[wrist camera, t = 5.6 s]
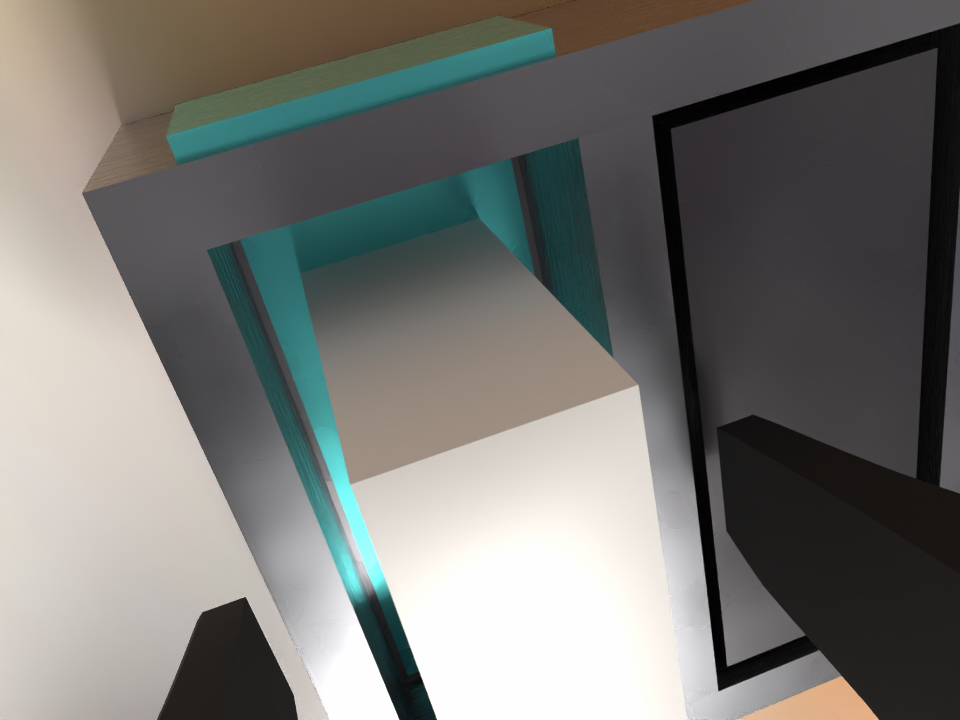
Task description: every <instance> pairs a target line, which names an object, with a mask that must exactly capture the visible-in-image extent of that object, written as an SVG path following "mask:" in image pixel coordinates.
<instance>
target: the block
mask: <svg viewBox="0 0 960 720" xmlns="http://www.w3.org/2000/svg"><path fill="white" fill-rule="evenodd" d="M300 275H301V279H302V284H303V288H304V292H305V296H306V300H307V305H308V309H309V313H310V317H311V322H312V326H313V330H314V334H315V338H316V343H317V347H318V351H319V355H320V359H321V364H322V368H323V372H324V376H325V380H326V385H327V389H328V393H329V397H330V402H331V406H332V410H333V414H334V418H335V423H336V427H337V431H338V435H339V439H340V444H341V448H342V452H343V456H344V460H345V465H346V469H347V473H348V477H349V482H350V485H351V488H352V491H353V493H354V496H355V499H356V502H357V504H358V507H359V510H360V512H361V515H362V518H363V520H364V523H365V526H366V529H367V531H368V534H369V537H370V539H371V542H372V545H373V547H374V550H375V553H376V556H377V558H378V561H379V564H380V566H381V569H382V572H383V574H384V577H385V580H386V583H387V585H388V588H389V591H390V593H391V596H392V599H393V601H394V604H395V607H396V609H397V612H398V615H399V618H400V620H401V623H402V626H403V628H404V631H405V634H406V636H407V639H408V642H409V645H410V647H411V650H412V653H413V655H414V658H415V661H416V663H417V666H418V669H419V672H420V674H421V677H422V680H423V682H424V685H425V688H426V690H427V693H428V696H429V699H430V701H431V704H432V707H433V709H434V712H435V715H436V717H437V720H687V717H686V710H685V703H684V696H683V689H682V682H681V675H680V668H679V661H678V655H677V648H676V641H675V634H674V627H673V620H672V613H671V606H670V599H669V592H668V585H667V578H666V572H665V565H664V558H663V551H662V544H661V537H660V530H659V523H658V516H657V509H656V502H655V495H654V489H653V482H652V475H651V468H650V461H649V454H648V447H647V440H646V433H645V426H644V419H643V412H642V405H641V399H640V392H639V385H638V384H637V383H636V382H635V381H634V380H633V379H632V377H631V376H630V375H629V374H628V373H627V372H626V371H625V370H624V369H623V368H622V367H621V366H620V365H619V364H618V363H617V362H616V361H615V360H614V359H613V358H612V357H611V356H610V354H609V353H608V352H607V351H606V350H605V349H604V348H603V347H602V346H601V345H600V344H599V343H598V342H597V341H596V340H595V339H594V338H593V337H592V336H591V335H590V334H589V333H588V331H587V330H586V329H585V328H584V327H583V326H582V325H581V324H580V323H579V322H578V321H577V320H576V319H575V318H574V317H573V316H572V315H571V314H570V313H569V312H568V311H567V310H566V308H565V307H564V306H563V305H562V304H561V303H560V302H559V301H558V300H557V299H556V298H555V297H554V296H553V295H552V294H551V293H550V292H549V291H548V290H547V289H546V288H545V287H544V285H543V284H542V283H541V282H540V281H539V280H538V279H537V278H536V277H535V276H534V275H533V274H532V273H531V272H530V271H529V270H528V269H527V268H526V267H525V266H524V265H523V264H522V262H521V261H520V260H519V259H518V258H517V257H516V256H515V255H514V254H513V253H512V252H511V251H510V250H509V249H508V248H507V247H506V246H505V245H504V244H503V243H502V242H501V241H500V239H499V238H498V237H497V236H496V235H495V234H494V233H493V232H492V231H491V230H490V229H489V228H488V227H487V226H486V225H485V224H484V223H483V222H482V221H481V220H480V219H479V218H478V219H475V220H472V221H469V222H465V223H462V224H459V225H456V226H452V227H449V228H446V229H443V230H439V231H436V232H433V233H430V234H426V235H423V236H420V237H417V238H413V239H410V240H407V241H404V242H400V243H397V244H394V245H391V246H387V247H384V248H381V249H378V250H374V251H371V252H368V253H365V254H361V255H358V256H355V257H352V258H348V259H345V260H342V261H339V262H335V263H332V264H329V265H326V266H322V267H319V268H316V269H313V270H309V271H306V272H303V273H300Z"/></svg>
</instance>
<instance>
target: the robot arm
mask: <svg viewBox="0 0 960 720" xmlns="http://www.w3.org/2000/svg"><path fill="white" fill-rule="evenodd" d="M717 438H718V449H719V459H720V470H721V480H722V491H723V501H724V512H725V522H726V531H727V533H728V534H729V536H730V537H731V539H732V540H733V542H734V543H735V545H736V546H737V548H738V550H739V551H740V553H741V554H742V556H743V557H744V559H745V560H746V562H747V563H748V565H749V566H750V568H751V569H752V570H753V572H754V573H755V575H756V576H757V578H758V579H759V581H760V582H761V583H762V585H763V586H764V587H765V589H766V590H767V591H768V592H769V593H770V594H771V596H772V597H773V598H774V599H775V600H776V601H777V603H778V604H779V605H780V606H781V607H782V608H783V610H784V611H785V612H786V613H787V614H788V615H789V616H790V618H791V619H792V620H793V621H794V622H795V623H796V624H797V626H798V627H799V628H800V629H801V630H802V631H803V632H804V634H805V635H806V636H807V637H808V638H809V639H810V640H811V642H812V643H813V644H814V645H815V646H816V647H817V648H818V649H819V651H820V652H821V653H822V654H823V655H824V656H825V657H826V658H827V660H828V661H829V662H830V663H831V664H832V665H833V666H834V668H835V669H836V670H837V671H838V672H839V673H840V674H841V676H842V677H843V678H844V679H845V680H846V681H847V682H848V683H849V685H850V686H851V687H852V688H853V689H854V690H855V691H856V693H857V694H858V695H859V696H860V697H861V698H862V699H863V700H864V702H865V703H866V704H867V705H868V706H869V708H870V709H871V710H872V711H873V713H874V714H875V715H876V716H877V718H878V719H879V720H960V493H957V492H954V491H951V490H948V489H945V488H942V487H939V486H936V485H933V484H930V483H927V482H924V481H921V480H918V479H916V478H913V477H910V476H907V475H905V474H902V473H899V472H896V471H894V470H891V469H888V468H886V467H883V466H881V465H878V464H875V463H873V462H870V461H868V460H865V459H863V458H860V457H858V456H855V455H853V454H850V453H848V452H845V451H843V450H840V449H838V448H835V447H833V446H830V445H828V444H826V443H823V442H821V441H818V440H816V439H813V438H811V437H809V436H806V435H804V434H801V433H799V432H796V431H794V430H792V429H789V428H787V427H784V426H782V425H779V424H777V423H774V422H772V421H769V420H767V419H764V418H761V417H759V416H756V415H750V416H748V417H745V418H742V419H739V420H737V421H734V422H731V423H728V424H725V425H723V426H720V427H717ZM157 720H298V717H297V712H296V706H295V700H294V695H293V693H292V691H291V689H290V687H289V684H288V682H287V680H286V678H285V676H284V674H283V672H282V670H281V668H280V666H279V664H278V662H277V660H276V658H275V656H274V654H273V652H272V650H271V648H270V646H269V644H268V642H267V640H266V638H265V636H264V634H263V632H262V630H261V628H260V626H259V624H258V622H257V619H256V617H255V615H254V613H253V611H252V609H251V607H250V605H249V603H248V601H247V599H246V597H244V598H241V599H239V600H236V601H233V602H230V603H227V604H225V605H222V606H219V607H216V608H213V609H211V610H208V611H205V612H202V614H201V616H200V617H199V619H198V621H197V623H196V626H195V628H194V631H193V633H192V636H191V638H190V641H189V644H188V646H187V649H186V651H185V654H184V656H183V659H182V661H181V664H180V666H179V669H178V671H177V674H176V676H175V679H174V681H173V684H172V686H171V688H170V691H169V693H168V696H167V698H166V701H165V703H164V705H163V708H162V710H161V712H160V714H159V717H158V719H157Z"/></svg>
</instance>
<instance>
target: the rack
mask: <svg viewBox="0 0 960 720" xmlns="http://www.w3.org/2000/svg"><path fill="white" fill-rule="evenodd" d="M82 194H83V196H84V198H85V200H86V202H87V205H88V207H89V209H90V211H91V213H92V215H93V217H94V219H95V222H96V224H97V226H98V228H99V230H100V232H101V234H102V236H103V239H104V241H105V243H106V245H107V247H108V249H109V251H110V253H111V256H112V258H113V260H114V262H115V264H116V266H117V268H118V270H119V273H120V275H121V277H122V279H123V281H124V283H125V285H126V287H127V290H128V292H129V294H130V296H131V298H132V300H133V302H134V304H135V307H136V309H137V311H138V313H139V315H140V317H141V319H142V321H143V324H144V326H145V328H146V330H147V332H148V334H149V336H150V338H151V341H152V343H153V345H154V347H155V349H156V351H157V353H158V355H159V358H160V360H161V362H162V364H163V366H164V368H165V370H166V372H167V375H168V377H169V379H170V381H171V383H172V385H173V387H174V389H175V392H176V394H177V396H178V398H179V400H180V402H181V404H182V406H183V409H184V411H185V413H186V415H187V417H188V419H189V421H190V423H191V426H192V428H193V430H194V432H195V434H196V436H197V438H198V440H199V443H200V445H201V447H202V449H203V451H204V453H205V455H206V457H207V460H208V462H209V464H210V466H211V468H212V470H213V472H214V474H215V477H216V479H217V481H218V483H219V485H220V487H221V489H222V491H223V494H224V496H225V498H226V500H227V502H228V504H229V506H230V508H231V510H232V513H233V515H234V517H235V519H236V521H237V523H238V525H239V527H240V530H241V532H242V534H243V536H244V538H245V540H246V542H247V544H248V547H249V549H250V551H251V553H252V555H253V557H254V559H255V561H256V564H257V566H258V568H259V570H260V572H261V574H262V576H263V578H264V581H265V583H266V585H267V587H268V589H269V591H270V593H271V595H272V598H273V600H274V602H275V604H276V606H277V608H278V610H279V612H280V615H281V617H282V619H283V621H284V623H285V625H286V627H287V629H288V632H289V634H290V636H291V638H292V640H293V642H294V644H295V646H296V649H297V651H298V653H299V655H300V657H301V659H302V661H303V663H304V666H305V668H306V670H307V672H308V674H309V676H310V678H311V680H312V683H313V685H314V687H315V689H316V691H317V693H318V695H319V697H320V700H321V702H322V704H323V706H324V708H325V710H326V712H327V714H328V717H329V719H330V720H437V717H436V715H435V712H434V709H433V707H432V704H431V701H430V699H429V696H428V693H427V690H426V688H425V685H424V682H423V680H422V677H421V674H420V672H419V669H418V666H417V663H416V661H415V658H414V655H413V653H412V650H411V647H410V645H409V642H408V639H407V636H406V634H405V631H404V628H403V626H402V623H401V620H400V618H399V615H398V612H397V609H396V607H395V604H394V601H393V599H392V596H391V593H390V591H389V588H388V585H387V583H386V580H385V577H384V574H383V572H382V569H381V566H380V564H379V561H378V558H377V556H376V553H375V550H374V547H373V545H372V542H371V539H370V537H369V534H368V531H367V529H366V526H365V523H364V520H363V518H362V515H361V512H360V510H359V507H358V504H357V502H356V499H355V496H354V493H353V491H352V488H351V485H350V482H349V477H348V473H347V469H346V465H345V460H344V456H343V452H342V448H341V444H340V439H339V435H338V431H337V427H336V423H335V418H334V414H333V410H332V406H331V402H330V397H329V393H328V389H327V385H326V380H325V376H324V372H323V368H322V364H321V359H320V355H319V351H318V347H317V343H316V338H315V334H314V330H313V326H312V322H311V317H310V313H309V309H308V305H307V300H306V296H305V292H304V288H303V284H302V279H301V275H300V273H303V272H306V271H309V270H313V269H316V268H319V267H322V266H326V265H329V264H332V263H335V262H339V261H342V260H345V259H348V258H352V257H355V256H358V255H361V254H365V253H368V252H371V251H374V250H378V249H381V248H384V247H387V246H391V245H394V244H397V243H400V242H404V241H407V240H410V239H413V238H417V237H420V236H423V235H426V234H430V233H433V232H436V231H439V230H443V229H446V228H449V227H452V226H456V225H459V224H462V223H465V222H469V221H472V220H475V219H478V218H479V219H480V220H481V221H482V222H483V223H484V224H485V225H486V226H487V227H488V228H489V229H490V230H491V231H492V232H493V233H494V234H495V235H496V236H497V237H498V238H499V239H500V241H501V242H502V243H503V244H504V245H505V246H506V247H507V248H508V249H509V250H510V251H511V252H512V253H513V254H514V255H515V256H516V257H517V258H518V259H519V260H520V261H521V262H522V264H523V265H524V266H525V267H526V268H527V269H528V270H529V271H530V272H531V273H532V274H533V275H534V276H535V277H536V278H537V279H538V280H539V281H540V282H541V283H542V284H543V285H544V287H545V288H546V289H547V290H548V291H549V292H550V293H551V294H552V295H553V296H554V297H555V298H556V299H557V300H558V301H559V302H560V303H561V304H562V305H563V306H564V307H565V308H566V310H567V311H568V312H569V313H570V314H571V315H572V316H573V317H574V318H575V319H576V320H577V321H578V322H579V323H580V324H581V325H582V326H583V327H584V328H585V329H586V330H587V331H588V333H589V334H590V335H591V336H592V337H593V338H594V339H595V340H596V341H597V342H598V343H599V344H600V345H601V346H602V347H603V348H604V349H605V350H606V351H607V352H608V353H609V354H610V356H611V357H612V358H613V359H614V360H615V361H616V362H617V363H618V364H619V365H620V366H621V367H622V368H623V369H624V370H625V371H626V372H627V373H628V374H629V375H630V376H631V377H632V379H633V380H634V381H635V382H636V383H637V384H638V385H639V392H640V399H641V405H642V412H643V419H644V426H645V433H646V440H647V447H648V454H649V461H650V468H651V475H652V482H653V489H654V495H655V502H656V509H657V516H658V523H659V530H660V537H661V544H662V551H663V558H664V565H665V572H666V578H667V585H668V592H669V599H670V606H671V613H672V620H673V627H674V634H675V641H676V648H677V655H678V661H679V668H680V675H681V682H682V689H683V696H684V703H685V710H686V717H687V720H736V719H739V718H741V717H743V716H746V715H748V714H751V713H753V712H755V711H758V710H760V709H763V708H765V707H768V706H770V705H772V704H775V703H777V702H780V701H782V700H784V699H787V698H789V697H792V696H794V695H796V694H799V693H801V692H804V691H806V690H808V689H811V688H813V687H816V686H818V685H821V684H823V683H825V682H828V681H830V680H833V679H835V678H837V677H840V676H841V674H840V673H839V672H838V671H837V670H836V669H835V668H834V666H833V665H832V664H831V663H830V662H829V661H828V660H827V658H826V657H825V656H824V655H823V654H822V653H821V652H820V651H819V649H818V648H817V647H816V646H815V645H814V644H813V643H812V642H811V640H810V639H809V638H808V637H807V636H806V635H805V634H804V632H803V631H802V630H801V629H800V628H799V627H798V626H797V624H796V623H795V622H794V621H793V620H792V619H791V618H790V616H789V615H788V614H787V613H786V612H785V611H784V610H783V608H782V607H781V606H780V605H779V604H778V603H777V601H776V600H775V599H774V598H773V597H772V596H771V594H770V593H769V592H768V591H767V590H766V589H765V587H764V586H763V585H762V583H761V582H760V581H759V579H758V578H757V576H756V575H755V573H754V572H753V570H752V569H751V568H750V566H749V565H748V563H747V562H746V560H745V559H744V557H743V556H742V554H741V553H740V551H739V550H738V548H737V546H736V545H735V543H734V542H733V540H732V539H731V537H730V536H729V534H728V533H727V531H726V522H725V512H724V501H723V491H722V480H721V470H720V459H719V449H718V438H717V427H720V426H723V425H725V424H728V423H731V422H734V421H737V420H739V419H742V418H745V417H748V416H750V415H756V416H759V417H761V418H764V419H767V420H769V421H772V422H774V423H777V424H779V425H782V426H784V427H787V428H789V429H792V430H794V431H796V432H799V433H801V434H804V435H806V436H809V437H811V438H813V439H816V440H818V441H821V442H823V443H826V444H828V445H830V446H833V447H835V448H838V449H840V450H843V451H845V452H848V453H850V454H853V455H855V456H858V457H860V458H863V459H865V460H868V461H870V462H873V463H875V464H878V465H881V466H883V467H886V468H888V469H891V470H894V471H896V472H899V473H902V474H905V475H907V476H910V477H913V478H916V479H918V480H921V481H924V482H927V483H930V484H933V485H936V486H939V487H942V488H945V489H948V490H951V491H954V492H957V493H960V0H575V1H571V2H568V3H564V4H560V5H557V6H553V7H550V8H546V9H542V10H539V11H535V12H532V13H528V14H524V15H521V16H517V17H513V18H507V17H502V16H495V17H491V18H488V19H484V20H480V21H477V22H473V23H470V24H466V25H462V26H459V27H455V28H451V29H448V30H444V31H441V32H437V33H433V34H430V35H426V36H422V37H419V38H415V39H411V40H408V41H404V42H401V43H397V44H393V45H390V46H386V47H382V48H379V49H375V50H372V51H368V52H364V53H361V54H357V55H353V56H350V57H346V58H343V59H339V60H335V61H332V62H328V63H324V64H321V65H317V66H314V67H310V68H306V69H303V70H299V71H295V72H292V73H288V74H284V75H281V76H277V77H274V78H270V79H266V80H263V81H259V82H255V83H252V84H248V85H245V86H241V87H237V88H234V89H230V90H226V91H223V92H219V93H216V94H212V95H208V96H205V97H201V98H197V99H194V100H190V101H187V102H183V103H179V104H176V106H175V109H174V112H170V113H166V114H163V115H159V116H156V117H152V118H148V119H145V120H141V121H138V122H134V123H130V124H127V125H123V126H121V127H120V129H119V131H118V132H117V134H116V136H115V137H114V139H113V141H112V143H111V144H110V146H109V148H108V149H107V151H106V153H105V155H104V156H103V158H102V160H101V161H100V163H99V165H98V167H97V168H96V170H95V172H94V173H93V175H92V177H91V179H90V180H89V182H88V184H87V185H86V187H85V189H84V190H83V192H82Z"/></svg>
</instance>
